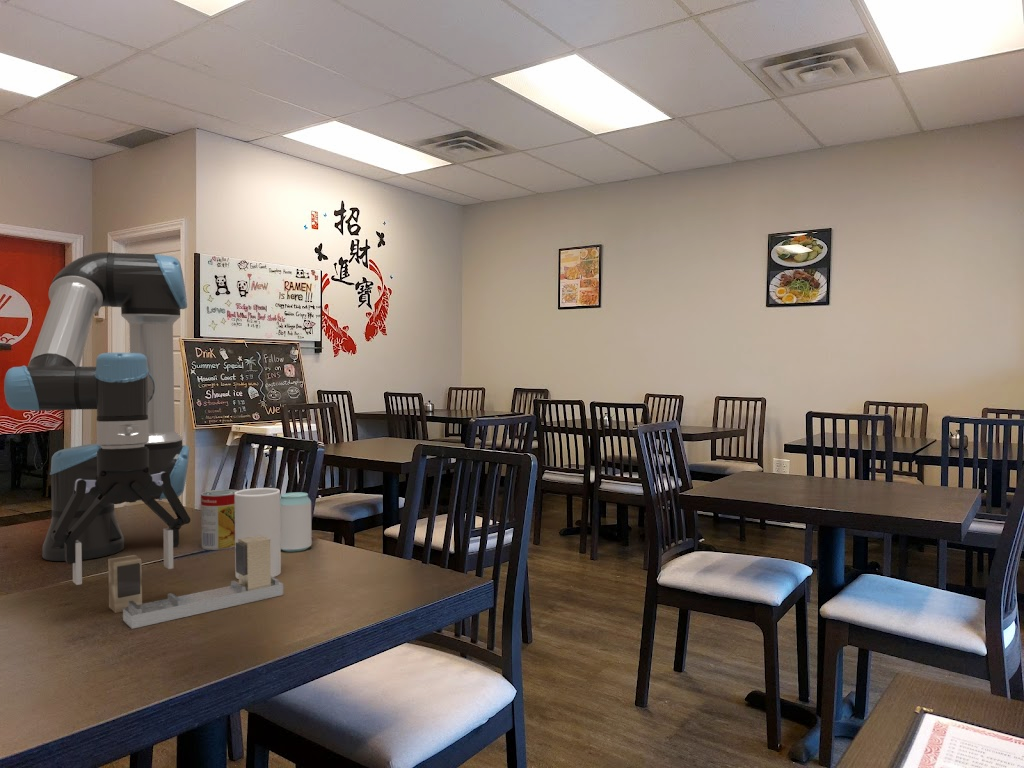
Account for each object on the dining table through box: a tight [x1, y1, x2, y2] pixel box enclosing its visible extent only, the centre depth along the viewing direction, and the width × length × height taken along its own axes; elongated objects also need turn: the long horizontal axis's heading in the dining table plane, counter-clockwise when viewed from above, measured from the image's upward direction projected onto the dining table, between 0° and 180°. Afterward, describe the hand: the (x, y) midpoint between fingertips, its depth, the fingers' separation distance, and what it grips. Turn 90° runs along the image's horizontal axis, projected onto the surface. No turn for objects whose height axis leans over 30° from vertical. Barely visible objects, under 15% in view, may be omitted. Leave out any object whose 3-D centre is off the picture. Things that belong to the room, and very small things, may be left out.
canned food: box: [200, 488, 239, 551], centre depth 160 cm, size 8×8×12 cm
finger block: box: [107, 554, 143, 614], centre depth 118 cm, size 5×4×8 cm
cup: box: [234, 487, 282, 580], centre depth 137 cm, size 8×8×16 cm
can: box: [280, 491, 313, 553], centre depth 157 cm, size 7×7×12 cm
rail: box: [122, 535, 284, 630], centre depth 118 cm, size 5×24×10 cm, turn 132°
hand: (124, 575), depth 118 cm, fingers open, 13 cm apart
